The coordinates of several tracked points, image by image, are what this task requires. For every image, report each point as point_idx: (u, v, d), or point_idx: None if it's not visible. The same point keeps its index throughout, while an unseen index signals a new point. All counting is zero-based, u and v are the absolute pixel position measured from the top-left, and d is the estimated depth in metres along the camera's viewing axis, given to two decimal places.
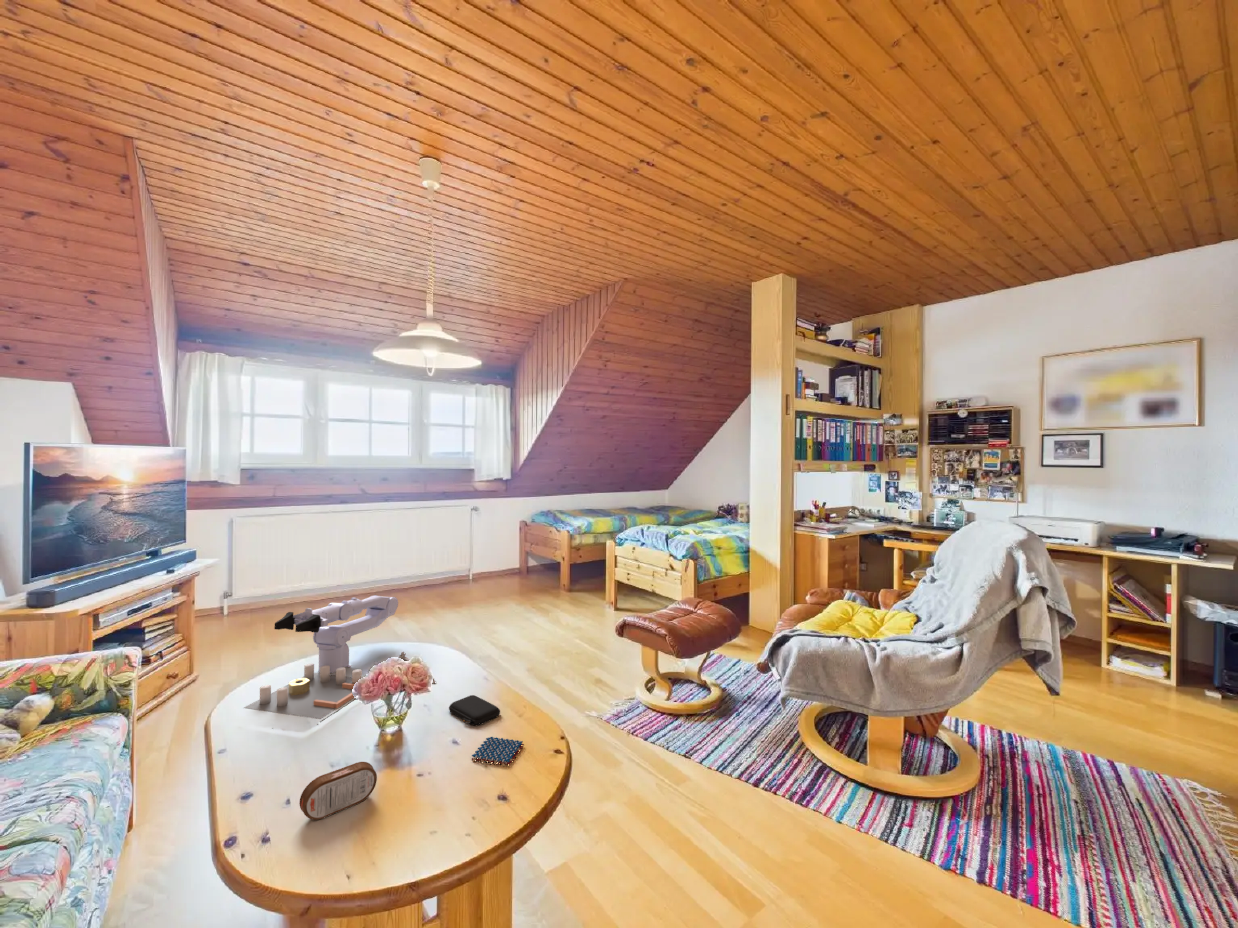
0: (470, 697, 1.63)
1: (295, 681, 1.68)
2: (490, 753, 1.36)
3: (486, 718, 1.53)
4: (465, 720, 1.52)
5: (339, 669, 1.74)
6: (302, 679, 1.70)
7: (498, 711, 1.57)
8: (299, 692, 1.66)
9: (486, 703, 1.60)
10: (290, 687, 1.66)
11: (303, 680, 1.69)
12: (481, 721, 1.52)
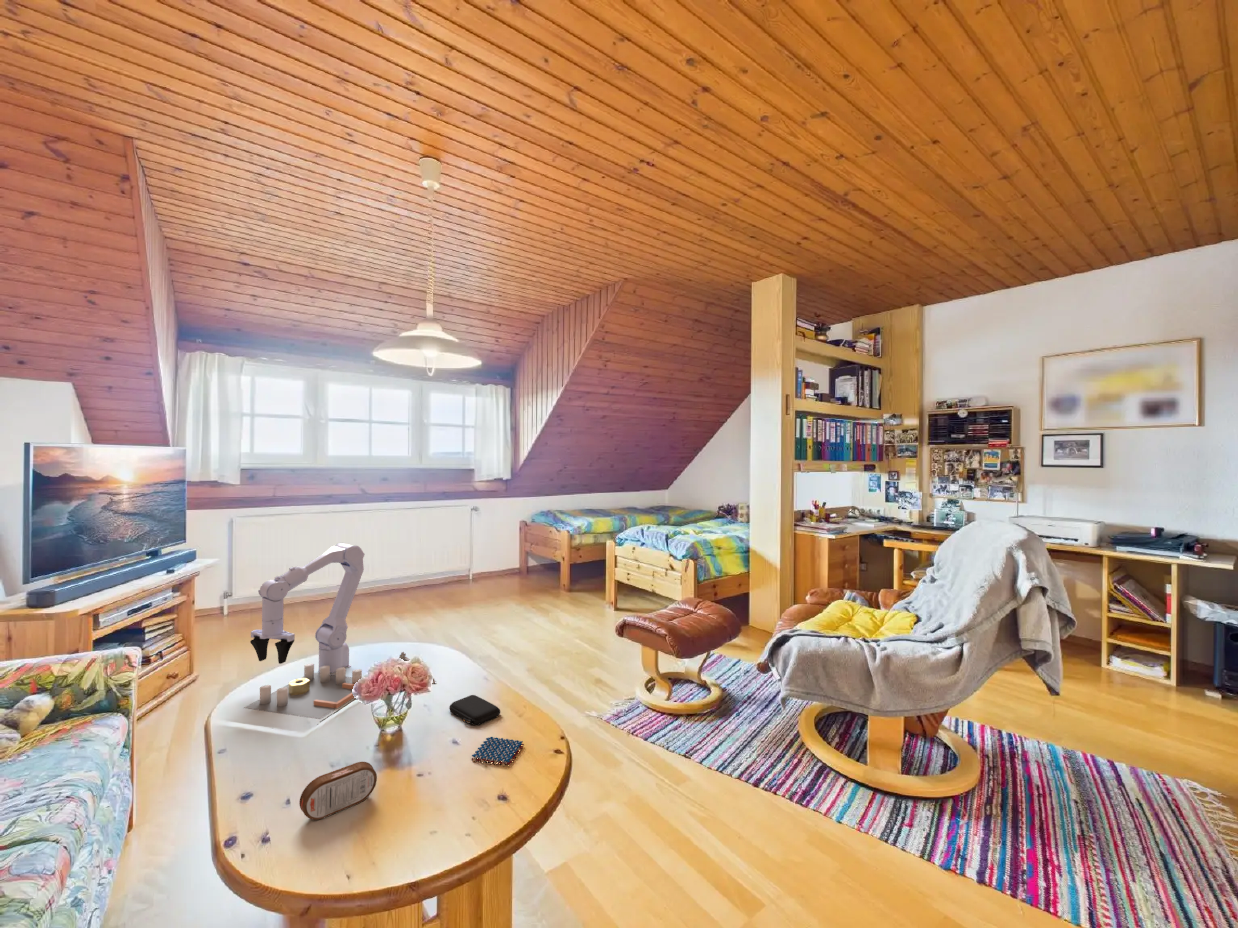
0: (470, 697, 1.63)
1: (295, 681, 1.68)
2: (490, 753, 1.36)
3: (486, 718, 1.53)
4: (465, 720, 1.52)
5: (339, 669, 1.74)
6: (302, 679, 1.70)
7: (498, 711, 1.57)
8: (299, 692, 1.66)
9: (486, 703, 1.60)
10: (290, 687, 1.66)
11: (303, 680, 1.69)
12: (481, 721, 1.52)
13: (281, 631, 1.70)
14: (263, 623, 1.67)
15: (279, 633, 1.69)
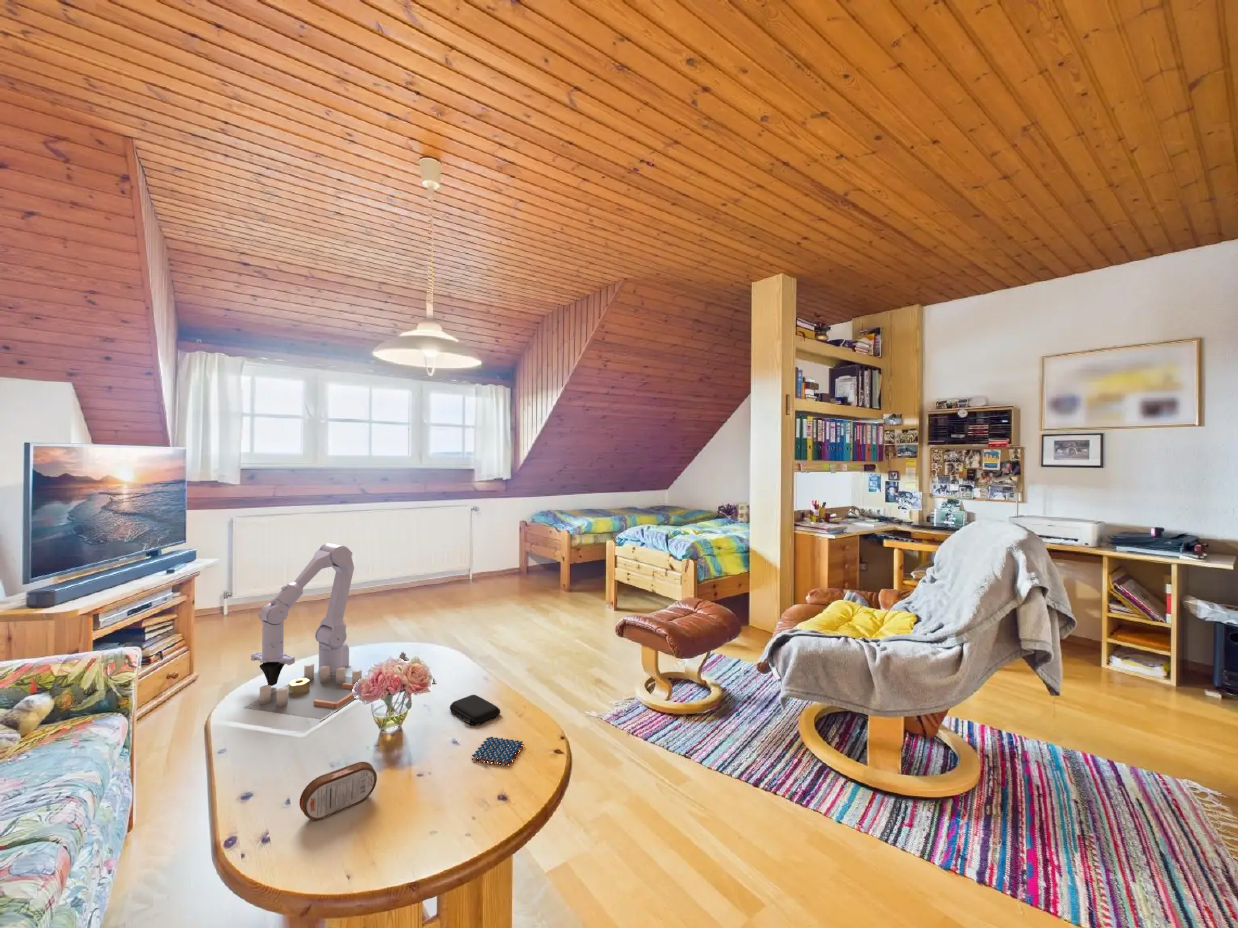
0: (471, 697, 1.64)
1: (295, 681, 1.68)
2: (490, 753, 1.36)
3: (486, 718, 1.53)
4: (465, 719, 1.52)
5: (339, 669, 1.74)
6: (302, 679, 1.70)
7: (498, 711, 1.57)
8: (299, 692, 1.66)
9: (486, 703, 1.60)
10: (290, 687, 1.66)
11: (303, 680, 1.69)
12: (481, 721, 1.52)
13: (281, 654, 1.70)
14: (263, 647, 1.67)
15: (279, 656, 1.69)
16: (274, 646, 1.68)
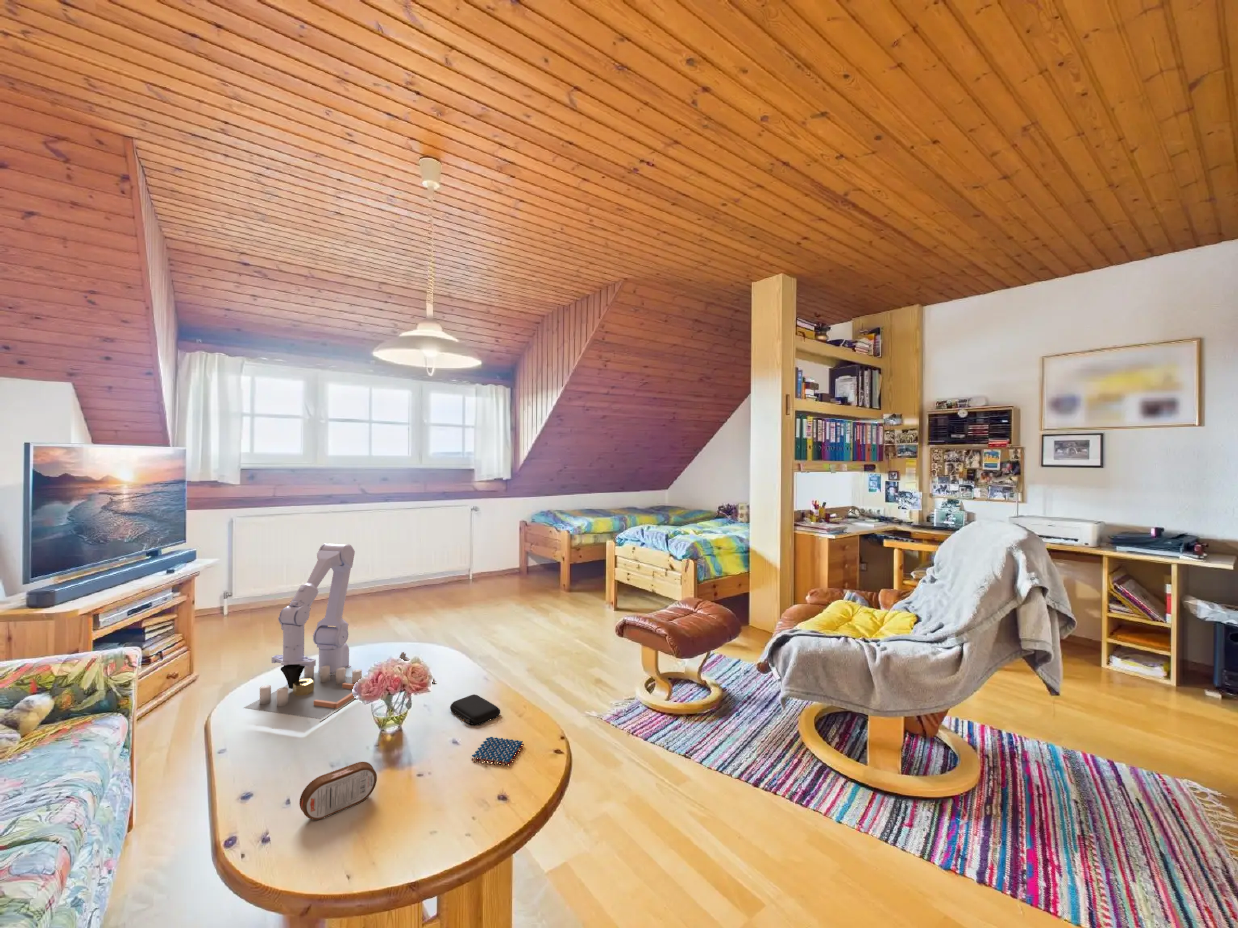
0: (472, 696, 1.64)
1: (299, 681, 1.68)
2: (490, 753, 1.36)
3: (485, 718, 1.53)
4: (464, 719, 1.52)
5: (339, 669, 1.74)
6: (306, 679, 1.70)
7: (498, 711, 1.57)
8: (303, 692, 1.66)
9: (487, 703, 1.60)
10: (294, 688, 1.66)
11: (308, 680, 1.69)
12: (480, 721, 1.52)
13: (302, 657, 1.68)
14: (284, 649, 1.66)
15: (300, 659, 1.67)
16: (295, 648, 1.66)
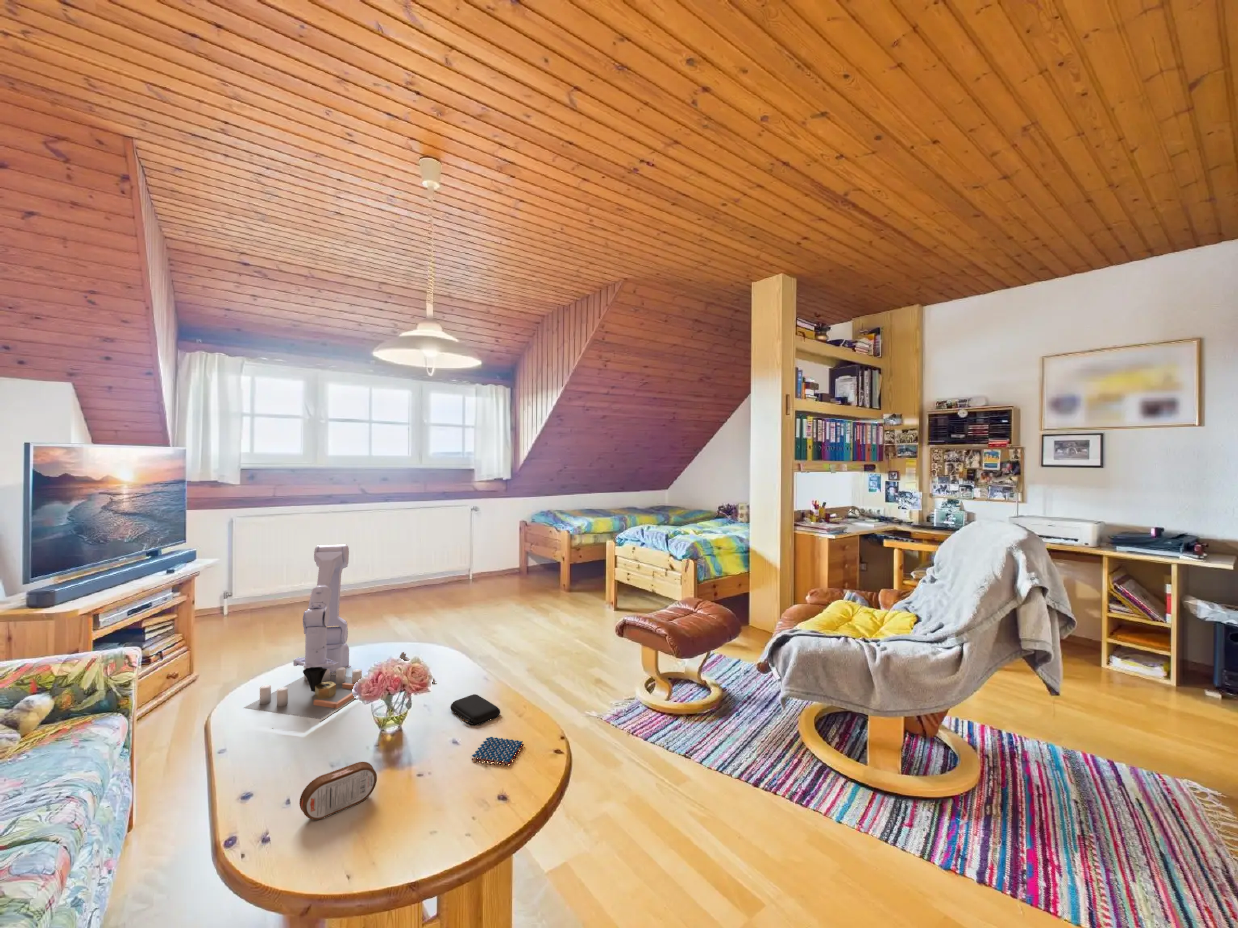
0: (472, 696, 1.64)
1: (321, 684, 1.66)
2: (490, 753, 1.36)
3: (485, 718, 1.53)
4: (464, 719, 1.52)
5: (339, 669, 1.74)
6: (328, 682, 1.68)
7: (498, 711, 1.57)
8: (326, 696, 1.64)
9: (487, 703, 1.60)
10: (316, 691, 1.64)
11: (330, 683, 1.67)
12: (480, 721, 1.52)
13: (324, 659, 1.67)
14: (307, 652, 1.64)
15: (322, 662, 1.66)
16: (317, 651, 1.64)
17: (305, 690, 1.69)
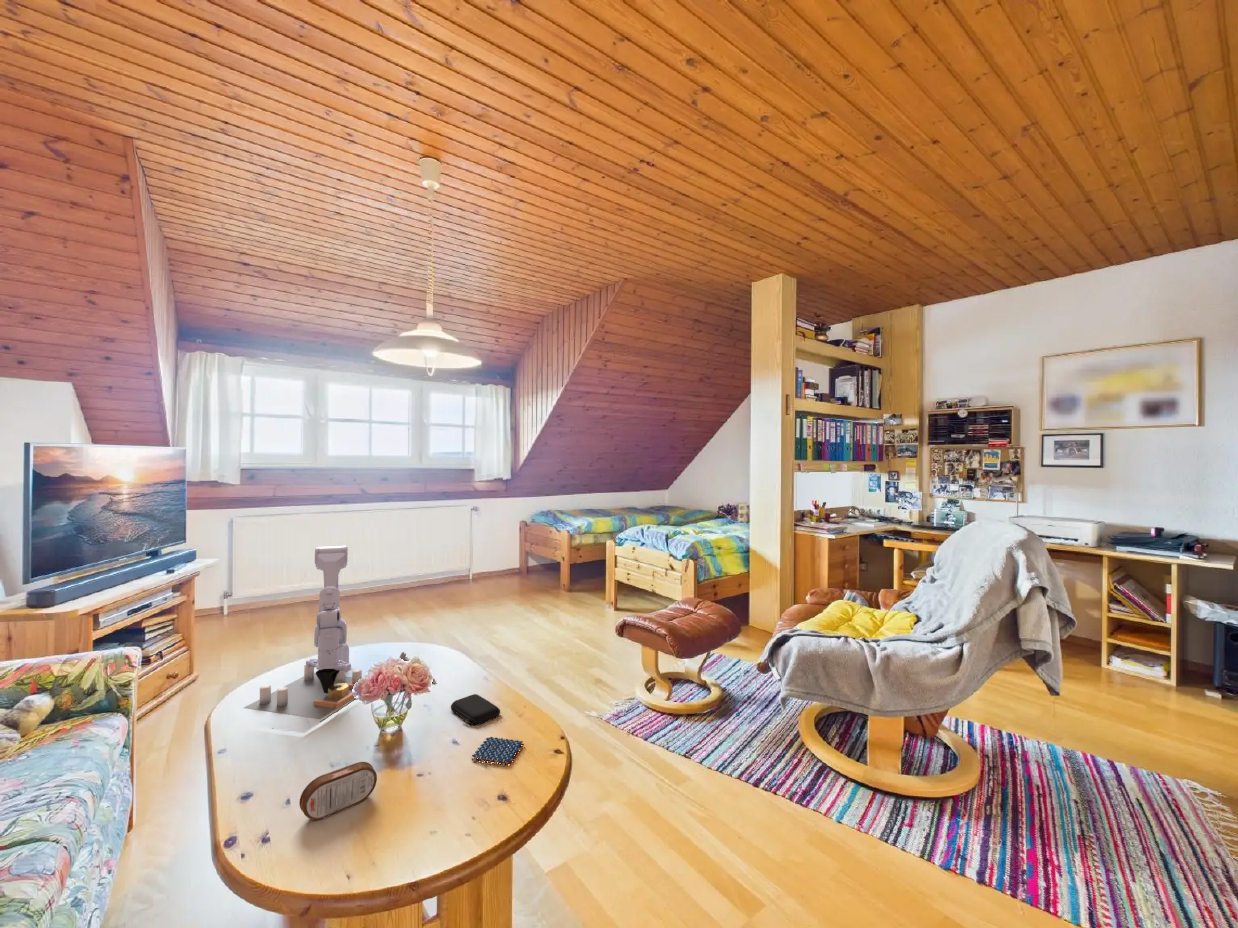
0: (472, 696, 1.64)
1: (334, 686, 1.65)
2: (490, 753, 1.36)
3: (485, 718, 1.53)
4: (464, 719, 1.53)
5: None
6: (340, 684, 1.67)
7: (498, 711, 1.57)
8: (339, 697, 1.63)
9: (487, 703, 1.60)
10: (329, 693, 1.64)
11: (342, 685, 1.66)
12: (480, 721, 1.52)
13: (337, 661, 1.66)
14: (319, 653, 1.63)
15: (335, 663, 1.65)
16: (330, 652, 1.64)
17: (305, 690, 1.69)
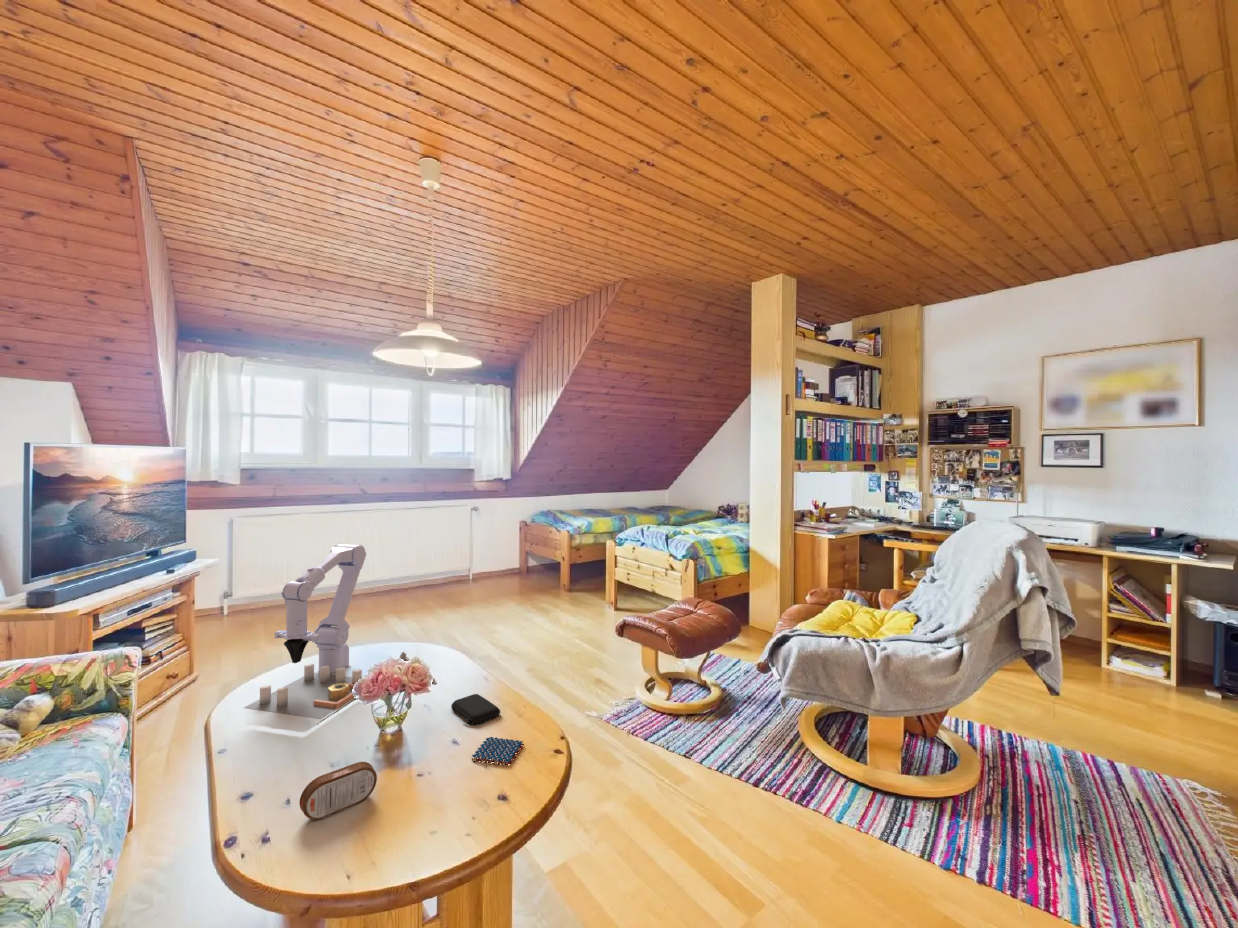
0: (473, 696, 1.64)
1: (334, 686, 1.65)
2: (490, 753, 1.36)
3: (485, 718, 1.53)
4: (464, 719, 1.53)
5: (339, 669, 1.74)
6: (341, 684, 1.67)
7: (497, 712, 1.57)
8: (339, 697, 1.63)
9: (487, 703, 1.60)
10: (329, 693, 1.64)
11: (343, 685, 1.66)
12: (479, 721, 1.52)
13: (305, 632, 1.70)
14: (288, 624, 1.67)
15: (303, 634, 1.69)
16: (298, 623, 1.68)
17: (305, 690, 1.69)
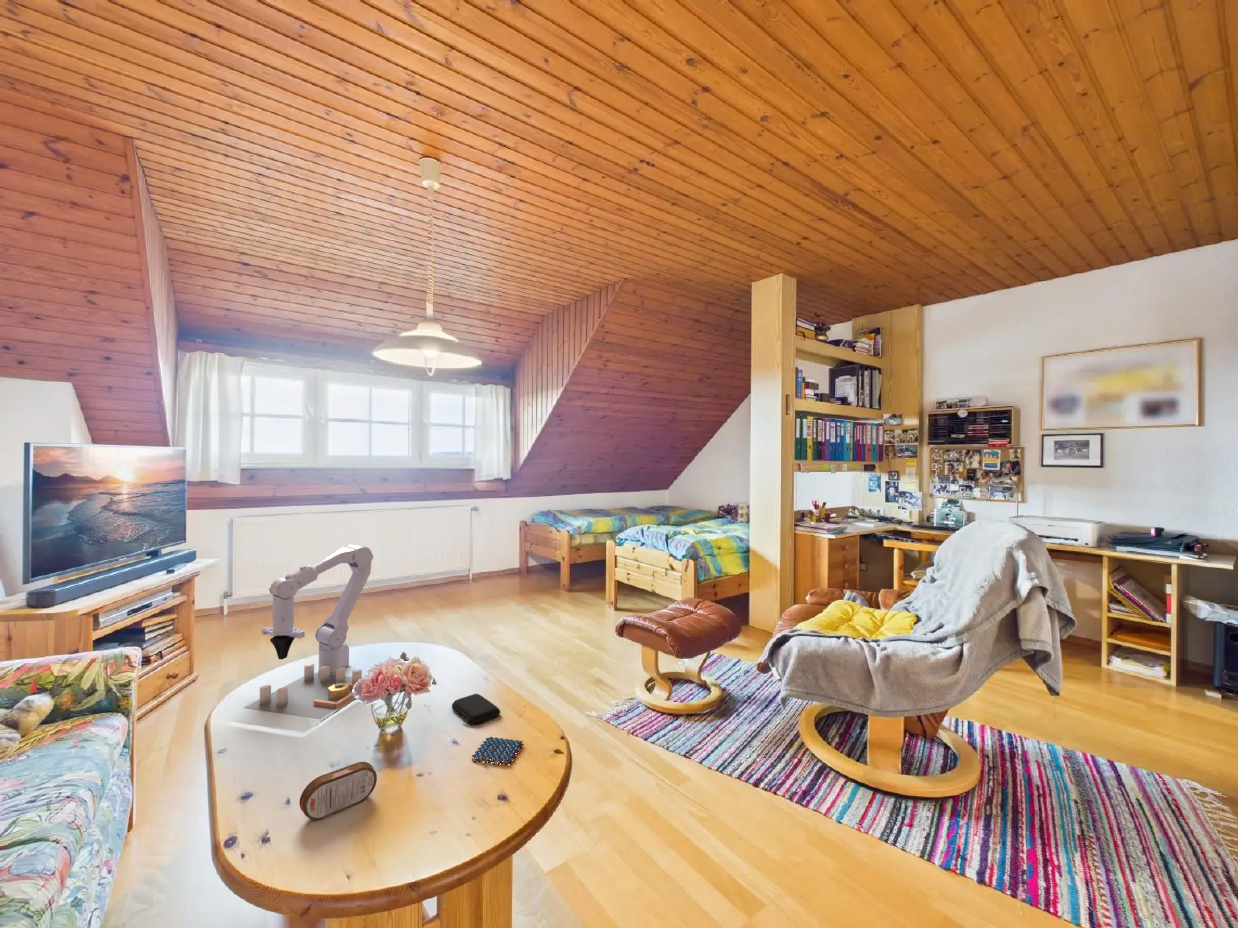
0: (474, 696, 1.64)
1: (334, 686, 1.65)
2: (490, 753, 1.36)
3: (484, 718, 1.53)
4: (464, 719, 1.53)
5: (339, 669, 1.74)
6: (341, 684, 1.67)
7: (497, 712, 1.56)
8: (339, 697, 1.63)
9: (487, 703, 1.60)
10: (329, 693, 1.64)
11: (343, 685, 1.66)
12: (479, 721, 1.52)
13: (291, 628, 1.72)
14: (274, 620, 1.70)
15: (289, 630, 1.72)
16: (284, 620, 1.70)
17: (305, 690, 1.69)
